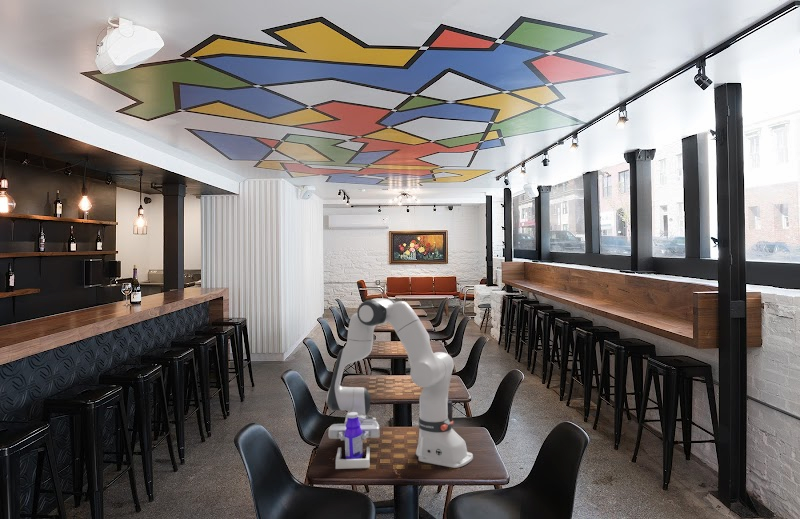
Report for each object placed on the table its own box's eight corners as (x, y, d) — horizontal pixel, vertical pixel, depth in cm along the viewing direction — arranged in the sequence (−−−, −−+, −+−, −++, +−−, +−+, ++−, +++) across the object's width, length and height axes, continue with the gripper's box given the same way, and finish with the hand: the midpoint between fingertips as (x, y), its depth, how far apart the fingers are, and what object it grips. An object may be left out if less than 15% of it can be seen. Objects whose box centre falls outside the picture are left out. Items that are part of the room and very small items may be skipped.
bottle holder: (338, 455, 189) (338, 447, 189) (369, 454, 189) (369, 446, 189) (335, 468, 176) (335, 460, 176) (369, 467, 177) (369, 459, 177)
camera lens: (433, 437, 207) (432, 402, 207) (435, 430, 215) (435, 397, 215) (451, 438, 205) (451, 403, 205) (453, 431, 213) (453, 398, 213)
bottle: (354, 454, 189) (352, 409, 189) (366, 456, 186) (363, 411, 186) (342, 461, 183) (340, 415, 183) (354, 463, 180) (352, 417, 180)
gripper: (329, 418, 197) (325, 430, 183) (379, 417, 198) (379, 429, 184) (329, 434, 197) (326, 447, 183) (379, 432, 198) (379, 445, 184)
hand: (353, 438), depth 183 cm, fingers closed on bottle, 7 cm apart
